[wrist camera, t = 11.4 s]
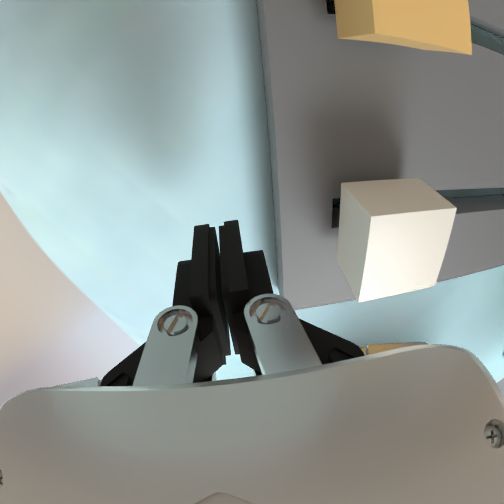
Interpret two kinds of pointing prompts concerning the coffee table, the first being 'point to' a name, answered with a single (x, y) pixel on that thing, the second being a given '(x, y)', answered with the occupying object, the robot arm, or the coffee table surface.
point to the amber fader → (407, 23)
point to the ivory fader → (392, 236)
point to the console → (376, 137)
